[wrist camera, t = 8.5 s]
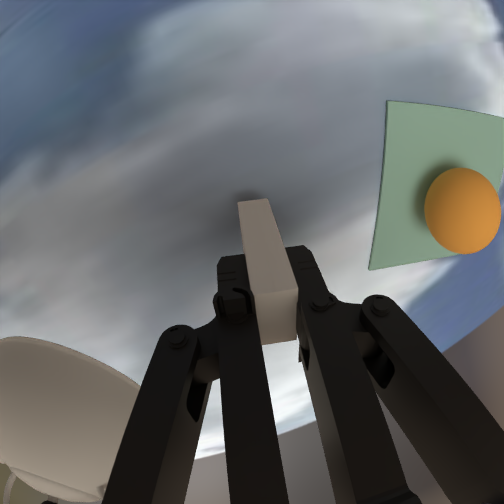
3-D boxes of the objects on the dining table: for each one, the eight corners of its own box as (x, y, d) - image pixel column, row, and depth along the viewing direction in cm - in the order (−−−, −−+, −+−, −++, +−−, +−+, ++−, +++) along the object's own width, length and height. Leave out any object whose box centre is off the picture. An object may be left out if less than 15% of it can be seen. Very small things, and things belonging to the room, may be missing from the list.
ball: (429, 149, 17) (432, 178, 14) (499, 166, 15) (519, 201, 11) (419, 217, 20) (414, 260, 17) (482, 233, 18) (491, 279, 14)
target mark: (386, 100, 14) (388, 101, 14) (509, 119, 15) (511, 120, 15) (368, 268, 21) (369, 270, 21) (479, 248, 22) (480, 249, 22)
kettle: (56, 428, 36) (44, 543, 18) (-42, 344, 23) (-85, 487, 5) (187, 427, 35) (196, 580, 17) (84, 322, 22) (44, 592, 4)
